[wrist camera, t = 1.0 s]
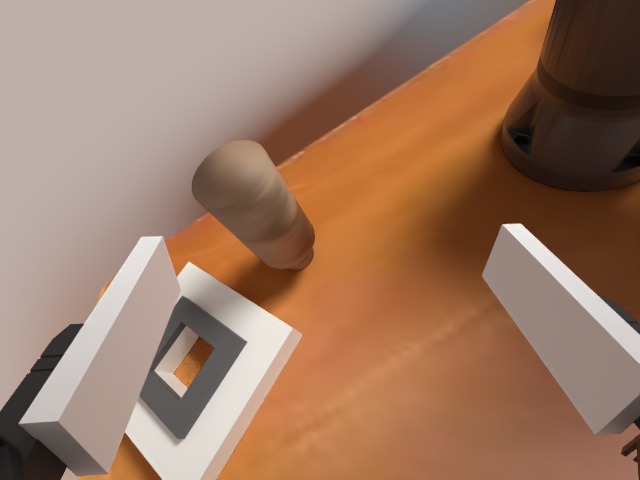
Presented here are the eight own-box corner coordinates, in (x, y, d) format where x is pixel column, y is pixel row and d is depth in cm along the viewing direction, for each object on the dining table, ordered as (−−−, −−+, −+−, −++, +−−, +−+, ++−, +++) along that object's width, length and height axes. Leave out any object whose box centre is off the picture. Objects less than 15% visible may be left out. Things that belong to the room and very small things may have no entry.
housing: (203, 271, 42) (183, 258, 39) (303, 334, 34) (288, 325, 31) (114, 391, 38) (83, 389, 35) (204, 499, 30) (175, 509, 26)
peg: (291, 224, 42) (225, 133, 29) (335, 242, 38) (282, 149, 25) (262, 267, 40) (176, 192, 27) (304, 291, 37) (231, 218, 23)
